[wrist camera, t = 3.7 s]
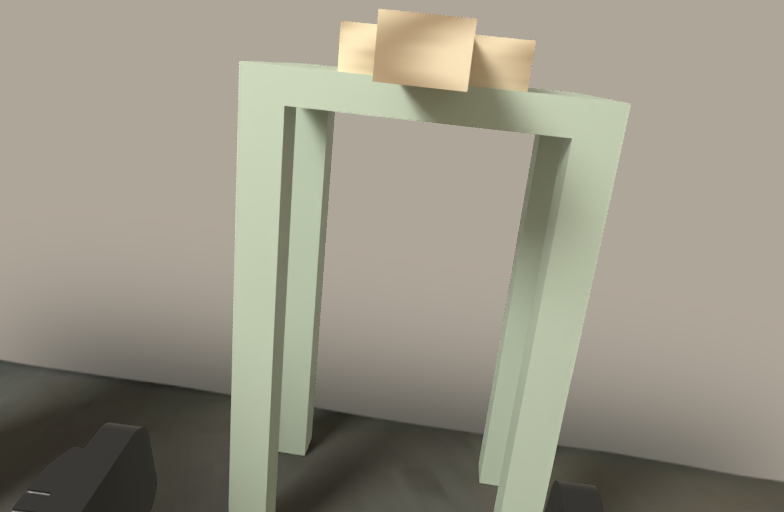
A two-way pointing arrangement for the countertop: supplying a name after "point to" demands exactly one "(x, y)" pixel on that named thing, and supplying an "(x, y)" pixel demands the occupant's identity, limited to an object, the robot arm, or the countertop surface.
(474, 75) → the cheese board
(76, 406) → the countertop surface
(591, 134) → the mint green side table
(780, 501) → the countertop surface
